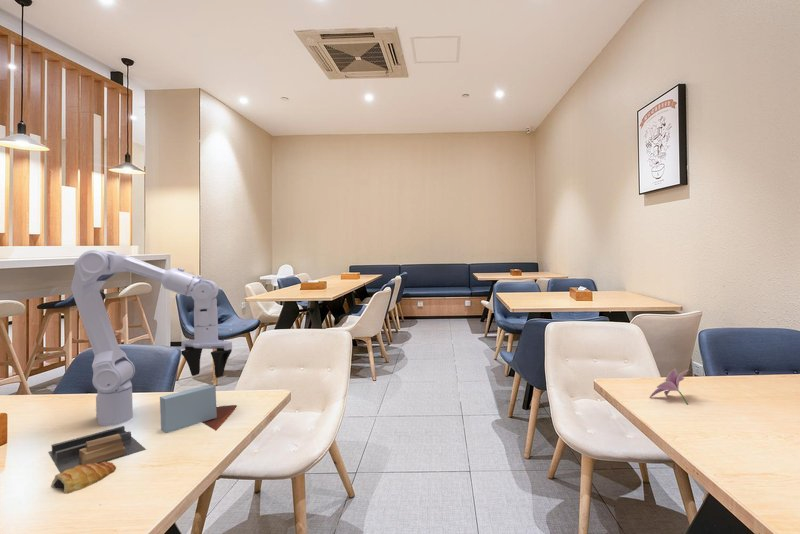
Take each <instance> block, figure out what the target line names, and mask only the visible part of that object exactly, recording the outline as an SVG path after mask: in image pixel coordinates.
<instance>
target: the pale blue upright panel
mask: <svg viewBox="0 0 800 534" xmlns="http://www.w3.org/2000/svg"><path fill="white" fill-rule="evenodd" d="M216 389H217V388H216V386H215V385H213V384H207V385H203V386H198V387H195V388H190V389H187V390H183V391H178V392H173V393H170V394H166V395H163V396H159V407H160V408H159V409H160V410H159V411H160V413H159V414H160V431H162V432H164V433H165V434H169V433H172V432H175V431H179V430H182V429H184V428H188V427H191V426H194V425H197V424H200V423H202V422H204V421H207V420H211V419H214V418H217V413H216V407H217V390H216Z"/></svg>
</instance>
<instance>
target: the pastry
mask: <svg viewBox="0 0 800 534" xmlns="http://www.w3.org/2000/svg"><path fill="white" fill-rule="evenodd" d="M116 469H117V466H116V465H115V464H114V463H113V462H111V461H108V462H102V463H99V464H97V463H91V464H87V465H79V466H76V467H75V468H73V469H67V470H65V471H64V472H63V473H60V472H59V473H57V474H56V475H55V476H54V479H53V480H52V482H51V484H50V486H51V488H52V489H53V488H54V489H59V490H63V492H62V494H64V495H65V494H70V493H74V492H78V491H80V490H83V489H86V488H88V487H90V486H92V485H94V484H97V483H98V482H100V481H101V480H103V479H104V478H106V477H108V476H110V475H111V474H113V473H114V472H115V471H116Z"/></svg>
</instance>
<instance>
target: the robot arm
mask: <svg viewBox="0 0 800 534" xmlns="http://www.w3.org/2000/svg"><path fill="white" fill-rule="evenodd" d="M73 266H74V269H75V270H74V275H73V278H72V282H71V286H70V288H71V292H72V296H73V298H74V301H75V304H76V308H77V309H78V310H77V311H78V314H79V316H80V318H81V321H82V324H83V327H84V330H85V332H86V335H87V338H88V341H89V344H90V347H91V350H92V352H93V356H94V358H93V362H92V364H91V368H92V372H93V376H92V379H91V380H92V381H91V382H92V385H93V387H94V388H95V389H96V390H97V393H96V396H95V397H96V398H95V408H96V409H95V410H96V411H95V412H96V416H95V417H96V420H97V421H98V422H97V424H98V425H99V426H101V427H102V426H103V427H104V426H105V427H107V426H115V425H116V426H117V425H120V424H123V423H127V422H128V421H130V420H132V419H133V418H134V416H133V415H134V414H133V412H134V411H133V384H132V381H131V379H133V377H134V375H135V373H136V367H135V364H134V363H133V361H131V360H130V359H129V358H128V356H127V354H126V352H125V351H124V350H123V349H121V347H120V345H119V343H118V340H117V338H116V335H115V332H114V328H113V325H112V323H111V321H110V318H109V314H108V312H107V308H106V305H105V302H104V299H103V297H102V294H101V291H100V290H101V289H102V287H103V286H104V284H106V283H107V281H108V280H109V279H110V278H112V277H114V276H115V275H117V273H123V272H129V273H133V274H136V275H139V276H142V277H144V278H148V279H151V280H155V281H158V282H159V283H161V285H162V287H163V288H164V289H165V290H169V291H171V292H174V293H177V294H180V295H183V296H185V297H191V299H192V300H193V305H194V307H193V329H194V330H193V332H194V335H193V337H194V339H185V340H182V341H181V349H184V350H181V351H180V352H181V355H182V356H183V357H184V359H185V361H186V363H187V365H188V367H189V371H190V375H191V377H195V376H198V375H200V372H201V371H200V370H201V356H202V353H203V350H205V349H206V350H212V351H211V352H210V355H211V357H212V360H213V361H212V362H213V367H214V376H215V378H218V379H219V378H221V377H223V376H224V373H225V372H224V371H225V368H226V364H227V363H228V362H227V361H228V359H229V357H230V355H231V353H232V350H233V342H232V341H229V340H228V341H227V340H221V339H219V321H218V320H219V319H218V317H219V315H218V313H219V312H218V311H219V310H218V305H217V304H218V301H217V296H218V294H219V291H220V290H219V286H218V285H217V283H216V282H215V281H213V280H212V279H210V278H205V279H204V278H203V276H202V275H194V274H191V273H189V272H186V271H185V269H184V268H182V267H178V268H176V267H172V268H170V269H167V270H166V269H163V268H162V267H161V268H160V267H159V266H156V265H153V264H151V263H148V262H146V261H144V260H141V259H139V258H136V257H133V256H131V255H126V254H123V253H117V252H115V251H111V250H109V251H108V250H107V251H100V250H97V249H95V250H91V249H90V250H87V251H85V252H83V253H82V254H81V255H80V256H79V257H78V258H77V259H76V261H75V262H74V264H73Z"/></svg>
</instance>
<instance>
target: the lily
mask: <svg viewBox="0 0 800 534" xmlns="http://www.w3.org/2000/svg"><path fill="white" fill-rule="evenodd" d="M689 370H690V368H688V369H686V370H684V371H682V372H680V373H678V371H677V369H676V368H673V369H672V370H671V371H669V373H668V374H667V376H666V378H665V380H663V381H664V382H662V383H660V384H658V385H657V386H656V389H655V390H654V391H653V392H652V393H651V395H649V399H651V398H652V397H654V396H655V395H657V394H658V393H661V392H664V393H663V394H664V395H665V396H668V395H669V393H670V391H671V392H678V393H679V395H680V396H681V397H682V399H683V400H684V401H685V404H686V406H688V405H689V403H688V402H687V400H686V398H685V396H684V395H683V394H682V392H681V391H680V389H679V388H680V386H679V383H680V382H681V381H683V380H685V377H684V376H685V374H686V373H687V372H689Z"/></svg>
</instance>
